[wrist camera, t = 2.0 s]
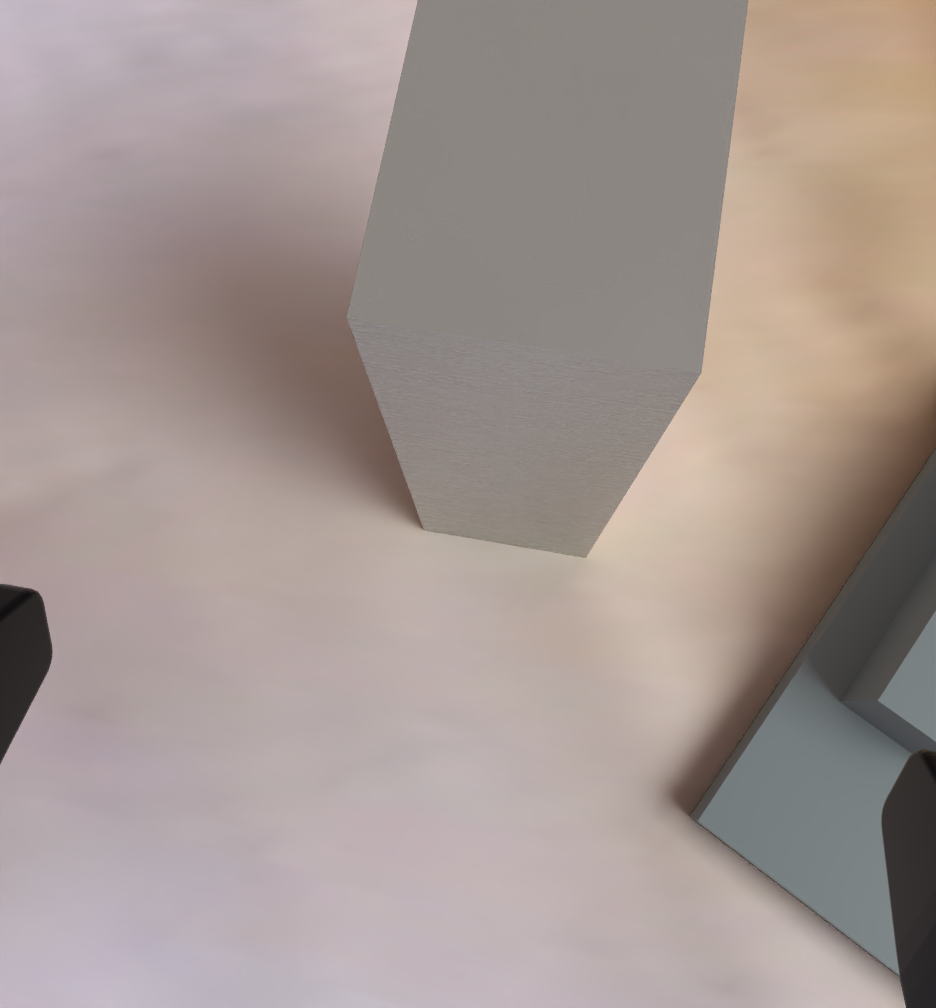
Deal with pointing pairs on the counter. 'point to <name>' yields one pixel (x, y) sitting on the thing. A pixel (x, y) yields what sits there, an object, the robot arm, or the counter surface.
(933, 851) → the robot arm
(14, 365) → the counter surface
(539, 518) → the steel block
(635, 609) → the counter surface
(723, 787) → the stepped grey baseplate
